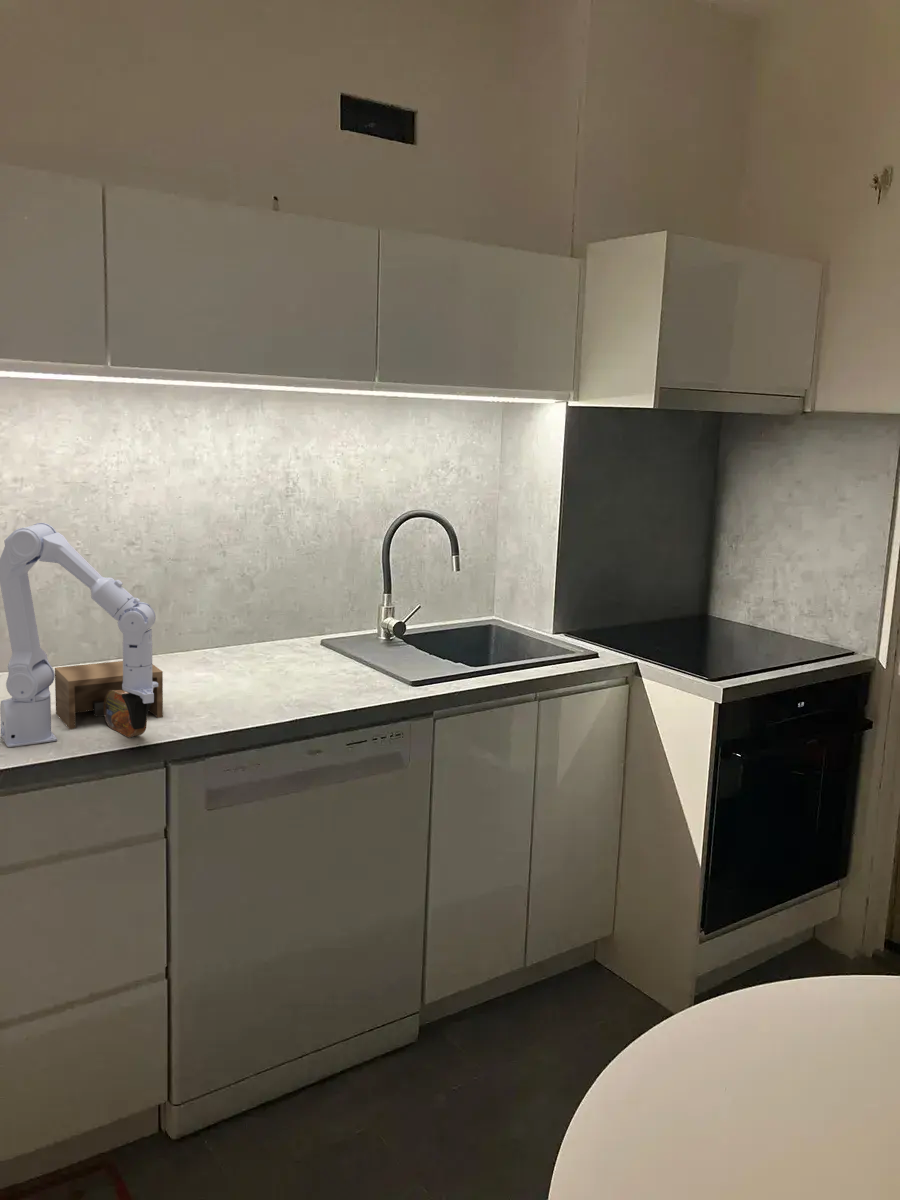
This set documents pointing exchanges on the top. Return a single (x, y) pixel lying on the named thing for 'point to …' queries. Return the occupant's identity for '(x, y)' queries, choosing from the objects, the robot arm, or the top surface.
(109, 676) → the shelf
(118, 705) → the tin
